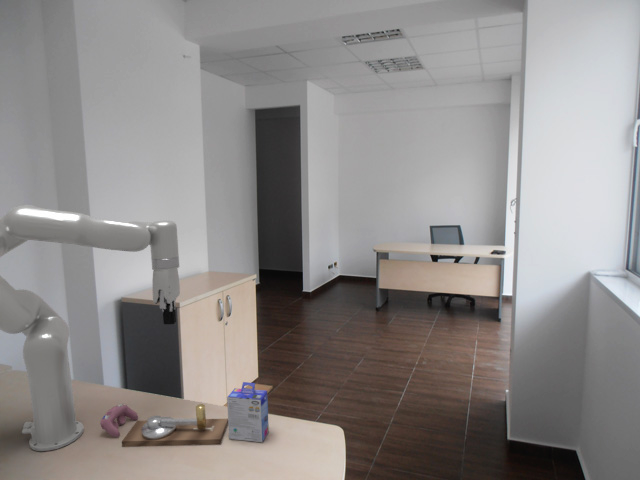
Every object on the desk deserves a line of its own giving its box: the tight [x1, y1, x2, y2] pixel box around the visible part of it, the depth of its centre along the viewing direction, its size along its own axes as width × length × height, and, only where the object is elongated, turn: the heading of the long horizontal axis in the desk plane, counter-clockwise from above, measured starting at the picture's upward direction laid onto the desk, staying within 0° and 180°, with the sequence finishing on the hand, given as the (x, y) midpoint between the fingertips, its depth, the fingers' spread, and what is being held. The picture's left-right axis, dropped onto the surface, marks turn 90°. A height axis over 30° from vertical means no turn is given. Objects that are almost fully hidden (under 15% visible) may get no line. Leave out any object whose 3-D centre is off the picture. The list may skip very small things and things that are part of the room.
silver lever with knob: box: [141, 403, 207, 439], centre depth 114 cm, size 18×9×7 cm, turn 88°
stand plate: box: [121, 418, 229, 448], centre depth 115 cm, size 26×10×2 cm, turn 90°
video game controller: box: [99, 403, 139, 438], centre depth 118 cm, size 10×5×7 cm, turn 170°
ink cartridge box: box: [226, 381, 270, 443], centre depth 113 cm, size 10×6×14 cm, turn 78°
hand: (170, 323), depth 125 cm, fingers closed
